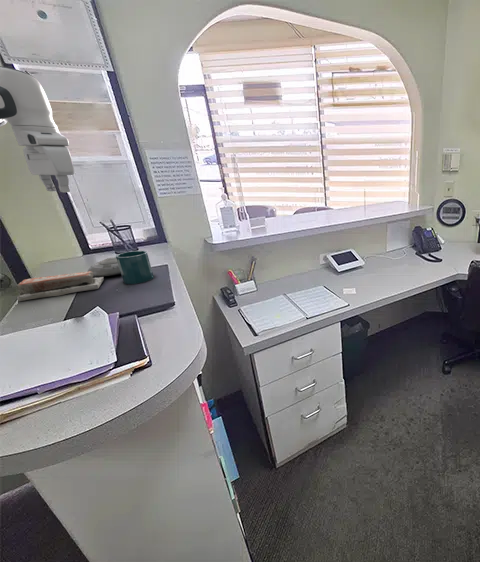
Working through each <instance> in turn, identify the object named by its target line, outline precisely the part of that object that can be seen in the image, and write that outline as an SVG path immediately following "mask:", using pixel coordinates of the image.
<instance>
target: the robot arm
mask: <svg viewBox="0 0 480 562" xmlns="http://www.w3.org/2000/svg"><path fill="white" fill-rule="evenodd" d="M7 123H9V124H10V126H11V129H12V132H13V135H14V138H15V140H16V142H17V145H18V146H19V147H20V146H21V147H23V149H22V152H23V156H24V159H25V162H26V165H27V168H28V170H29V172H30V174H32V176H33V175H34V176H36V175H37V176H39V180H40V181H41V183H42V184H43V185H44V187H45V190H46V192H56V191H57V188H56V185H55V184H54V182H53V180H52V176H55V179H56V181H57V184H58V186H57V187H58V189H59V192H60V193H70V192H71V189H70V186H69V185H70V183H69V181H70V180H69V179H70V178H69V177H68V176H73V175H75V167H74V163H73V158H72V155H71V152H70V149H69V148H68V147H69V146H70V143H69V139H68V137H67V136H65V135H63V134H61V132H60V131H59V128H58V125H57V124H56V123H55V121H54V119H53V110H52V107H51V103H50V101H49V99H48V96H47V93H46V91H45V90H44V88H43V86H42V84H41V83H40V81H39V80H38V79H37V78H36V77H34V76H33V75H32V74H30V73H27V72H25V71H23V70H19V69H16V68H13V67H9V66H0V128H1V127H3V126H5V125H7Z"/></svg>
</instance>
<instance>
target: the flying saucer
mask: <svg viewBox="0 0 480 562" xmlns="http://www.w3.org/2000/svg"><path fill="white" fill-rule="evenodd" d="M89 271H91V272H93V277H112V276H117V275H121V272H120V268H119V265H118V262H117V259H116V256H111V257H107V258H105V259H102V260H100V261H98V262H96V263H94V264H93V265H91V266H90V267H89V268H88V270H87V271H86V272H89Z"/></svg>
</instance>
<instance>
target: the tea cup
mask: <svg viewBox="0 0 480 562" xmlns="http://www.w3.org/2000/svg"><path fill="white" fill-rule="evenodd" d="M115 257H116V259H117V262H118V265H119V268H120V272H121V274H120V275H121V278H122V281H123V283H124V284H126V285H136V284H141V283H146V282H148V281H151V280H153V279H154V278H155V276H154V272H153V269H152V265H151V261H150V258H149V255H148V251H147V250H132V251H126V252H121V253H118V254H116V255H115Z"/></svg>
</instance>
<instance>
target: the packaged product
mask: <svg viewBox="0 0 480 562" xmlns="http://www.w3.org/2000/svg"><path fill="white" fill-rule="evenodd" d="M104 280H105V279H104V276H98V277H94V276H93V272H91V271H89V272H87V271H81V272H74V273H73V272H72V273H65V274H57V275H56V274H55V275H48V276H41V277H32V278H27V279H26V278H25V279H23V280H22V281H20V282H19V283H18V284H17V285H16V290H17V291H18V293H19V294H18V295H17V297H16V299H17V301H18V302H22V301H23V302H24V301H29V300H35V299H42V298H50V297H58V296H63V295H67V294H73V293H80V292H85V291H93V290H99V288H100V286H101V285H102V283H103V282H104Z"/></svg>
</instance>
